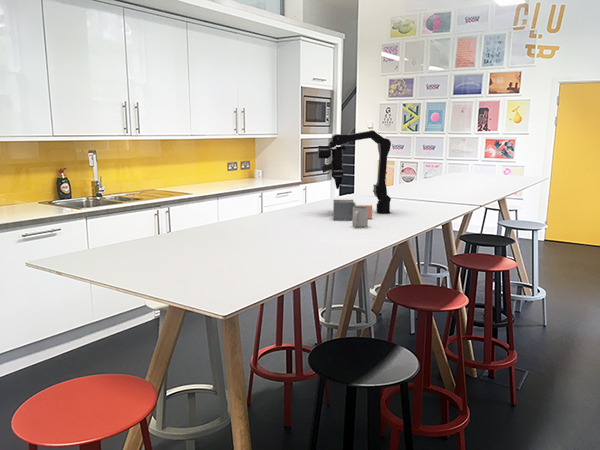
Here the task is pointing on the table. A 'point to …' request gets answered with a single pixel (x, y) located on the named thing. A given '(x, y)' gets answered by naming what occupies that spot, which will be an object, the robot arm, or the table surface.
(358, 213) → the cup
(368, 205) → the pink ridged slab
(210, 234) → the table surface
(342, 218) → the dark grey block
